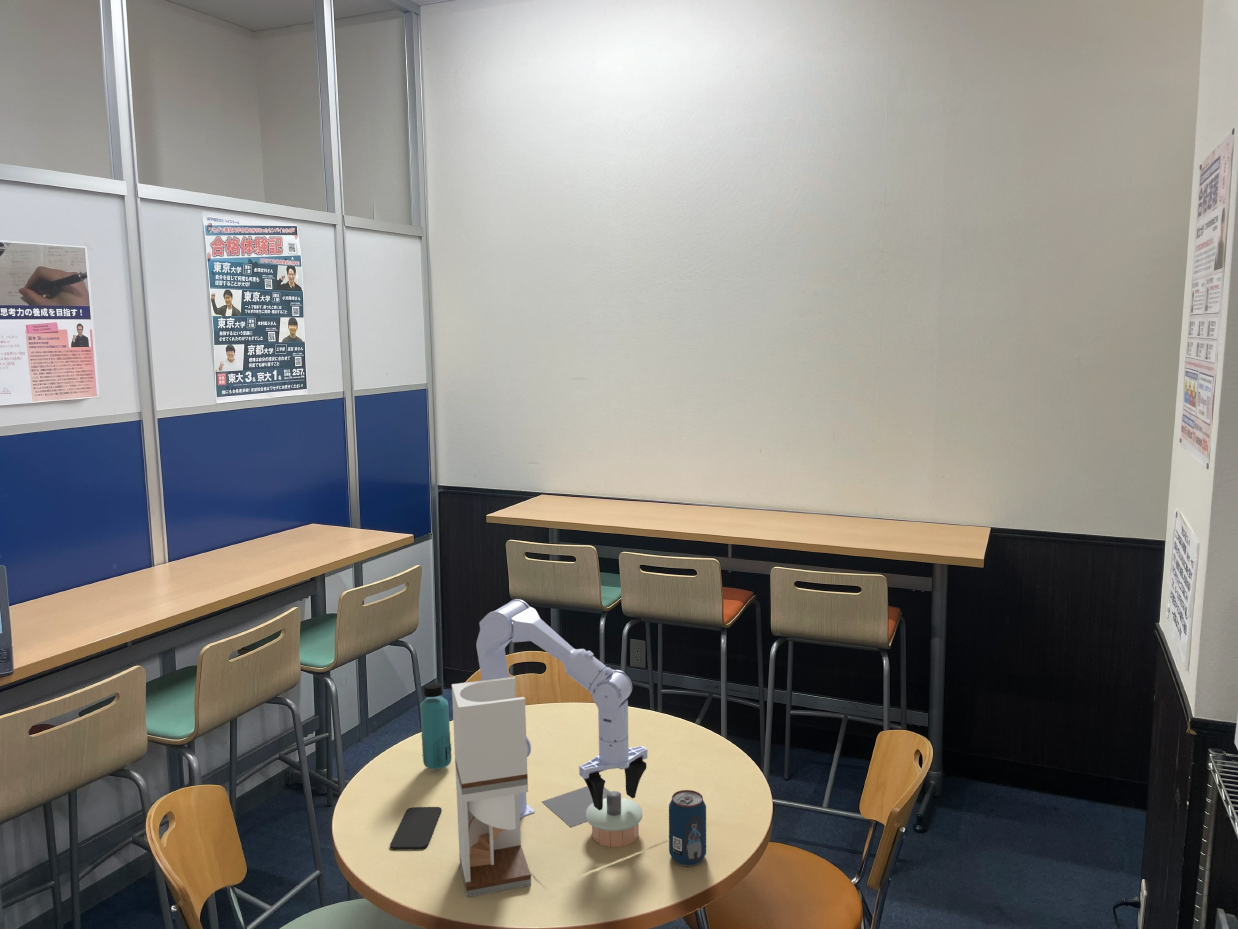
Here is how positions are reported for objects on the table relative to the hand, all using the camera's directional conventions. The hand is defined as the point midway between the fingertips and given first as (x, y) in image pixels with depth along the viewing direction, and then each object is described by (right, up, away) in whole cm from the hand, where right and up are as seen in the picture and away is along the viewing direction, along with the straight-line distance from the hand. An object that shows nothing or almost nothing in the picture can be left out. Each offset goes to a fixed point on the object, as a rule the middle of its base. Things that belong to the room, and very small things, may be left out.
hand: (614, 801), depth 176 cm
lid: (0, -3, +1) cm, 3 cm away
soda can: (+14, -8, -7) cm, 17 cm away
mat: (-6, -5, +12) cm, 15 cm away
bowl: (0, -7, +1) cm, 7 cm away
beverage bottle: (-40, -4, +29) cm, 50 cm away
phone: (-40, -8, +5) cm, 41 cm away
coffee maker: (-22, -9, -11) cm, 26 cm away
